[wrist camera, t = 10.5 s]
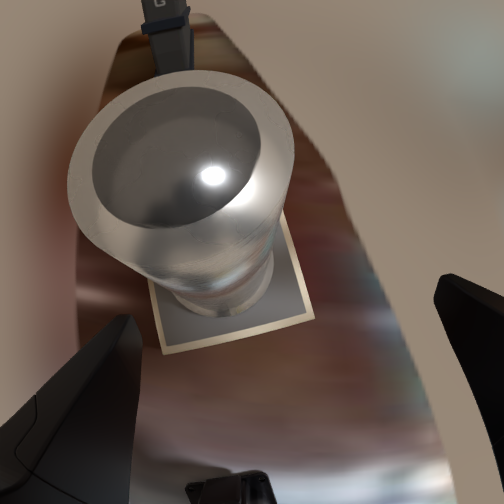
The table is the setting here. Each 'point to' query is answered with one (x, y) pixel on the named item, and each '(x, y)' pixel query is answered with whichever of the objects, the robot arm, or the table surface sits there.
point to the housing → (187, 186)
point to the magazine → (169, 35)
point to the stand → (244, 324)
